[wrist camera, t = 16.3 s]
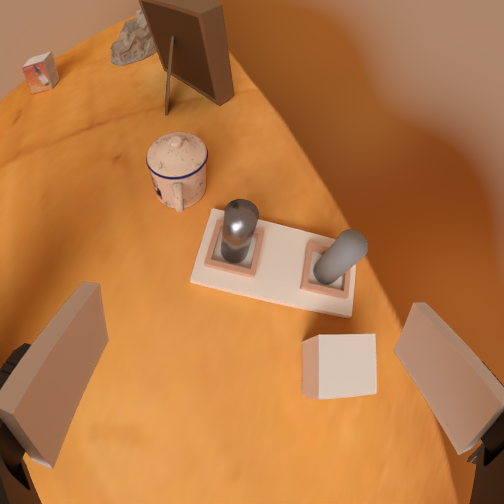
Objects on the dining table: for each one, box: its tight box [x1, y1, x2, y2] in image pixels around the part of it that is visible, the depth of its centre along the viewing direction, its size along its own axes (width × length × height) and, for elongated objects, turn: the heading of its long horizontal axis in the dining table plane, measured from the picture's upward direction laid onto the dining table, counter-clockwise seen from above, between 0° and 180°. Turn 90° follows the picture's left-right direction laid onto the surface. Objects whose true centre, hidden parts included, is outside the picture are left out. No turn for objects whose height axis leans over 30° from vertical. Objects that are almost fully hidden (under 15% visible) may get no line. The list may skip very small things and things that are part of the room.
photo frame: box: [139, 0, 234, 115], centre depth 48 cm, size 15×22×25 cm
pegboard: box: [190, 208, 368, 318], centre depth 40 cm, size 24×12×12 cm, turn 78°
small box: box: [22, 52, 60, 94], centre depth 53 cm, size 8×6×10 cm
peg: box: [220, 199, 259, 263], centre depth 39 cm, size 4×4×10 cm
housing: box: [302, 334, 377, 399], centre depth 36 cm, size 8×8×7 cm
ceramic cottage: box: [111, 10, 157, 66], centre depth 60 cm, size 16×16×15 cm
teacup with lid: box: [146, 132, 208, 212], centre depth 42 cm, size 12×9×12 cm
